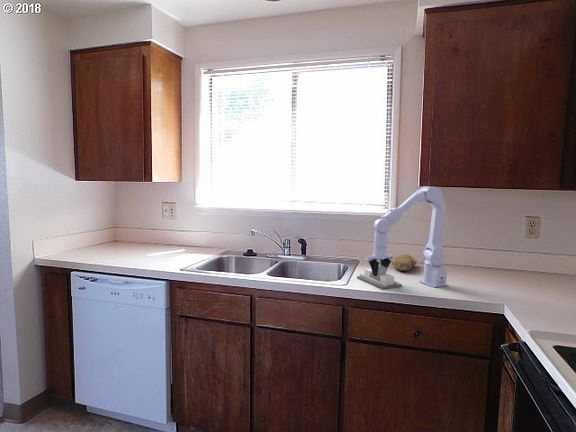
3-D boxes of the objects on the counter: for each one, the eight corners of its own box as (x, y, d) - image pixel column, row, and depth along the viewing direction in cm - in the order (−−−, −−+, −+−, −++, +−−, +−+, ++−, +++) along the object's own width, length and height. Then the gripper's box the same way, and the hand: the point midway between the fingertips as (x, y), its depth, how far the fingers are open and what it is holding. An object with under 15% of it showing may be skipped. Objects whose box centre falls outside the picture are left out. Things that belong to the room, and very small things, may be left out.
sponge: (399, 265, 206) (381, 263, 191) (404, 252, 205) (386, 249, 191) (421, 274, 197) (404, 273, 182) (425, 261, 196) (409, 258, 182)
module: (385, 280, 166) (386, 267, 165) (378, 281, 164) (379, 267, 164) (378, 277, 170) (379, 264, 170) (371, 278, 169) (372, 265, 168)
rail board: (401, 286, 162) (402, 276, 161) (381, 289, 157) (382, 279, 156) (375, 276, 178) (376, 266, 177) (356, 278, 173) (357, 268, 172)
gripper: (387, 243, 172) (385, 271, 174) (361, 245, 166) (360, 274, 167) (397, 246, 166) (396, 275, 167) (371, 248, 160) (370, 278, 161)
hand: (378, 275), depth 167 cm, fingers open, 4 cm apart
